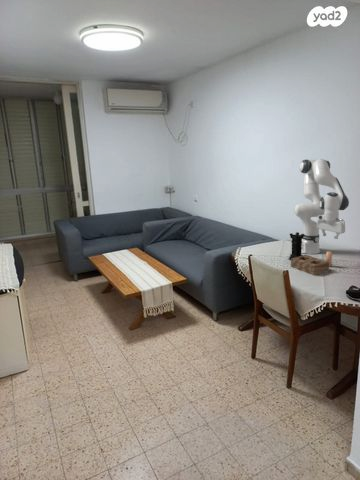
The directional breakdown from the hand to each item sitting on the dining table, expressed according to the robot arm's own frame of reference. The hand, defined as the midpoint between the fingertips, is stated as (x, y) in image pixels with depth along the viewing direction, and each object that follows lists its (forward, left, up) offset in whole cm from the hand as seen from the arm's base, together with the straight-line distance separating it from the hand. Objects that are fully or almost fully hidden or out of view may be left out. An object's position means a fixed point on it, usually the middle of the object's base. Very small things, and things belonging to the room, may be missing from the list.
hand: (330, 237), depth 223 cm
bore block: (-4, -14, -21) cm, 25 cm away
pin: (0, 0, -21) cm, 21 cm away
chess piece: (-22, -8, -21) cm, 31 cm away
